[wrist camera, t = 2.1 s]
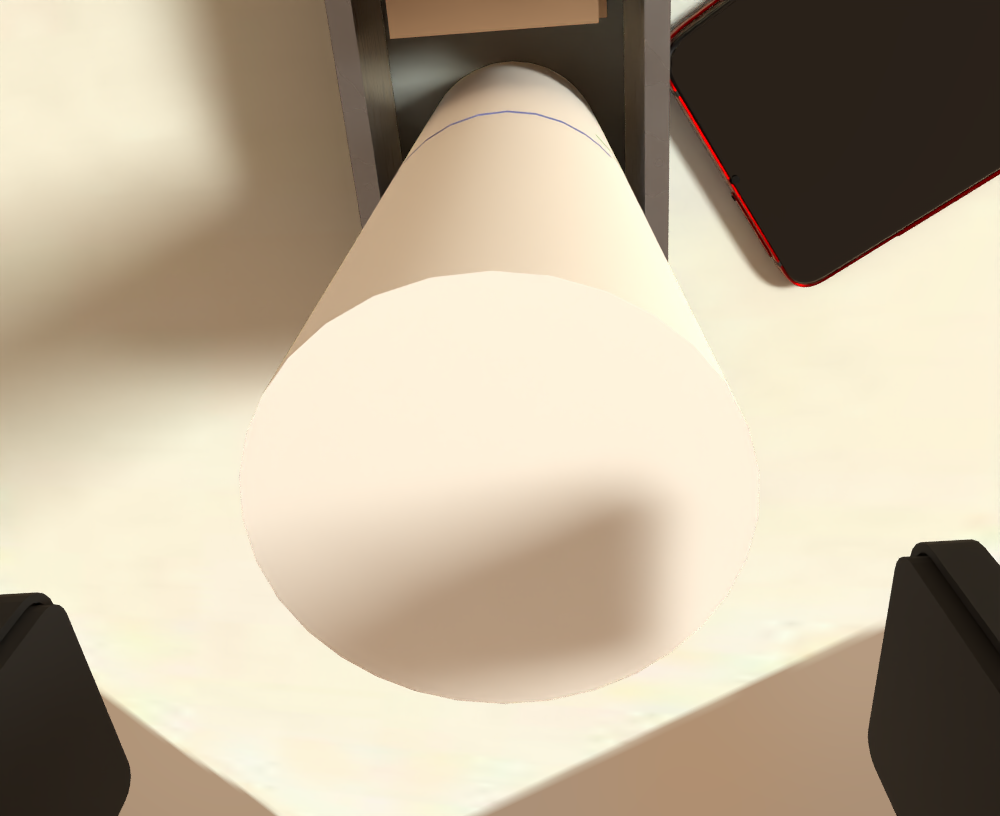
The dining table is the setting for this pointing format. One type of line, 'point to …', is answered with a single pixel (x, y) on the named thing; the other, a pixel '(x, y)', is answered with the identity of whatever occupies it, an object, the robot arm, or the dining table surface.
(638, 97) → the rack
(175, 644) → the dining table surface
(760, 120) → the smartphone
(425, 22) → the walnut offcut upper
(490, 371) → the cylindrical container
